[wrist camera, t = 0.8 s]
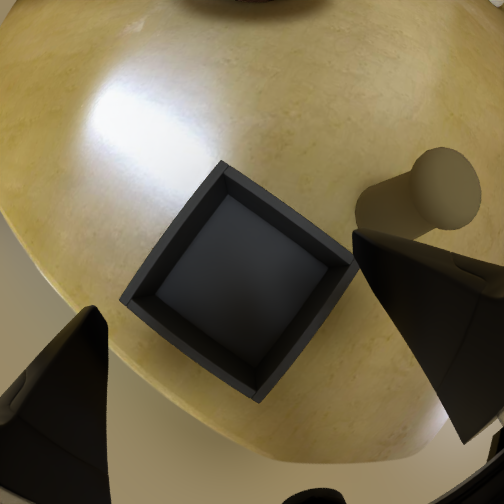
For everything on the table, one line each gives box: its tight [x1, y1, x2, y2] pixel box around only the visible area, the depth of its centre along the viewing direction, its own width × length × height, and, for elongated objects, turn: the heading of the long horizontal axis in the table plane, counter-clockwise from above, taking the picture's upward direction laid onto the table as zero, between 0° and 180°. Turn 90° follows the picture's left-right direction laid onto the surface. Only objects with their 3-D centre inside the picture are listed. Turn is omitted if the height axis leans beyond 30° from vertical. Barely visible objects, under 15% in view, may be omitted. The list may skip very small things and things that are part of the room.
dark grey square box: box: [119, 160, 360, 404], centre depth 20 cm, size 11×11×6 cm
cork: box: [355, 147, 481, 240], centre depth 18 cm, size 6×6×11 cm
